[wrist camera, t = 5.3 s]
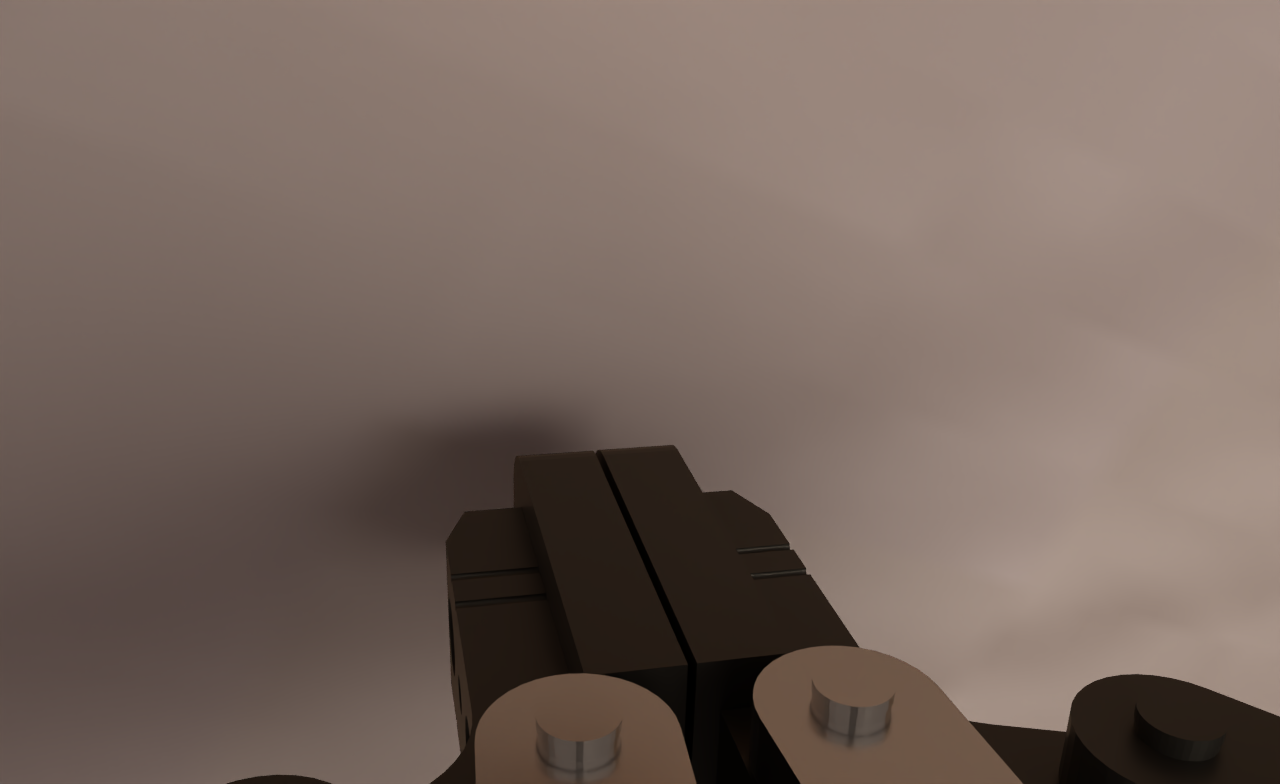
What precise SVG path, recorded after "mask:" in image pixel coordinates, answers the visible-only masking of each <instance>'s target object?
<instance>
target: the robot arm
mask: <svg viewBox="0 0 1280 784" xmlns="http://www.w3.org/2000/svg"><path fill="white" fill-rule="evenodd" d="M446 559H447V585H448V611H449V637H450V663H451V684H452V692H453V699H454V707H455V714H456V720H457V729H458V737H459V745H460V751H461V754H460V756H459V757H458V758H457V760H456V761H455V762H454V763H453V764H452V765H451V766H450V767H449V768H448V769H447V770H446V771H445V772H444V773H443V774H442V775H440V776H439V777H438V778H436V779H435V780H434V781H432V782H431V783H430V784H1280V717H1279V716H1277V715H1274V714H1271V713H1269V712H1266V711H1264V710H1261V709H1258V708H1256V707H1253V706H1251V705H1248V704H1245V703H1243V702H1240V701H1238V700H1235V699H1232V698H1230V697H1227V696H1225V695H1222V694H1219V693H1217V692H1214V691H1212V690H1209V689H1206V688H1204V687H1201V686H1198V685H1195V684H1192V683H1189V682H1185V681H1181V680H1177V679H1173V678H1167V677H1161V676H1154V675H1140V674H1132V675H1118V676H1112V677H1106V678H1103V679H1100V680H1097V681H1094V682H1092V683H1091V684H1089V685H1087V686H1085V687H1084V688H1083V689H1082V690H1081V691H1080V692H1078V693H1077V695H1076V696H1075V698H1074V700H1073V702H1072V706H1071V711H1070V716H1069V721H1068V726H1067V731H1066V732H1061V731H1051V730H1041V729H1031V728H1021V727H1011V726H1002V725H992V724H985V723H978V722H972V721H968V720H967V719H966V717H965V716H964V715H963V714H962V713H961V712H960V711H959V709H958V708H957V707H956V706H955V705H954V704H953V702H952V701H951V700H950V699H949V698H948V697H947V696H946V694H945V693H944V692H943V691H942V690H941V689H940V687H939V686H938V685H937V684H936V683H934V682H933V681H932V680H931V679H930V678H929V677H928V676H927V675H925V674H924V673H923V672H921V671H920V670H918V669H917V668H915V667H913V666H911V665H910V664H908V663H906V662H904V661H902V660H899V659H897V658H895V657H892V656H890V655H887V654H883V653H880V652H877V651H873V650H868V649H863V648H859V646H858V645H857V643H856V642H855V640H854V639H853V637H852V636H851V634H850V633H849V631H848V630H847V628H846V627H845V625H844V624H843V622H842V621H841V619H840V618H839V616H838V615H837V613H836V612H835V611H834V609H833V608H832V606H831V605H830V603H829V602H828V600H827V599H826V597H825V596H824V594H823V593H822V591H821V590H820V588H819V587H818V585H817V584H816V582H815V581H814V579H813V578H812V576H811V575H807V574H806V567H805V566H804V565H803V563H802V562H801V560H800V559H799V557H798V556H797V554H796V553H795V551H794V550H790V546H789V542H788V541H787V539H786V538H785V536H784V535H783V533H782V532H781V530H780V529H779V527H778V526H777V524H776V523H775V521H774V520H773V518H772V517H771V516H770V514H769V513H767V512H765V511H764V510H762V509H761V508H759V507H757V506H756V505H754V504H753V503H751V502H749V501H748V500H746V499H745V498H743V497H741V496H740V495H738V494H737V493H735V492H733V491H732V490H730V491H718V492H705V493H703V492H702V491H701V489H700V487H699V486H698V484H697V482H696V481H695V479H694V477H693V475H692V474H691V472H690V470H689V469H688V467H687V465H686V464H685V462H684V460H683V458H682V457H681V455H680V453H679V452H678V450H677V449H676V447H675V446H673V445H665V446H651V447H636V448H622V449H608V450H598V451H597V452H596V454H595V452H593V451H583V452H568V453H554V454H540V455H526V456H516V458H515V463H514V508H506V509H493V510H481V511H468V512H464V514H463V515H462V517H461V518H460V520H459V522H458V523H457V525H456V526H455V528H454V530H453V531H452V533H451V534H450V536H449V537H448V539H447V541H446ZM227 784H331V783H328V782H325V781H322V780H318V779H315V778H310V777H303V776H296V775H270V776H258V777H252V778H247V779H242V780H237V781H234V782H231V783H227Z"/></svg>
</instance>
